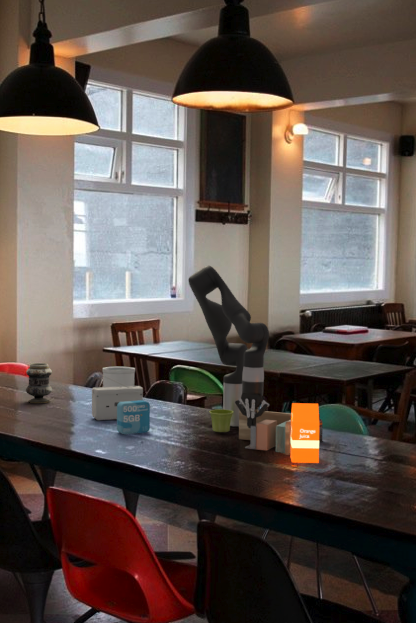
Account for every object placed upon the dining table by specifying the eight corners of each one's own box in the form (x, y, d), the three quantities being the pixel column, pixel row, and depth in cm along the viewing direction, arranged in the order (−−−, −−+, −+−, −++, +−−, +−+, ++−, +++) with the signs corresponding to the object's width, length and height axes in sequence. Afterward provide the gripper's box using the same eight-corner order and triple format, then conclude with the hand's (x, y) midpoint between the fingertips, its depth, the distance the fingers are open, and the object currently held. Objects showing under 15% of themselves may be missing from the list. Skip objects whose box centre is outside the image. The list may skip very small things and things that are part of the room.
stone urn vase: (49, 404, 389) (49, 365, 388) (23, 403, 389) (23, 365, 388) (54, 399, 401) (54, 362, 400) (29, 399, 401) (28, 362, 400)
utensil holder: (117, 402, 396) (117, 365, 395) (141, 405, 387) (141, 367, 386) (95, 406, 384) (95, 368, 383) (120, 410, 375) (120, 371, 374)
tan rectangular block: (256, 449, 292) (256, 423, 292) (266, 444, 300) (266, 419, 300) (266, 450, 291) (267, 424, 290) (276, 445, 299) (276, 420, 298)
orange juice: (290, 460, 281) (290, 401, 280) (316, 461, 281) (317, 401, 280) (291, 466, 273) (292, 405, 272) (319, 466, 273) (319, 405, 272)
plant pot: (238, 433, 325) (238, 411, 325) (222, 437, 318) (222, 414, 318) (220, 430, 331) (220, 408, 331) (204, 433, 325) (204, 411, 324)
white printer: (139, 415, 362) (139, 369, 361) (144, 419, 354) (144, 371, 353) (91, 418, 356) (91, 371, 354) (95, 421, 348) (95, 373, 347)
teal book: (286, 446, 298) (286, 421, 297) (295, 447, 296) (295, 422, 295) (275, 451, 289) (275, 425, 288) (285, 453, 287) (285, 426, 287)
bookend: (256, 442, 303) (256, 420, 302) (266, 443, 301) (266, 421, 300) (245, 448, 294) (245, 425, 293) (255, 449, 292) (255, 426, 291)
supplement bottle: (323, 443, 309) (324, 412, 308) (320, 446, 303) (321, 415, 303) (307, 442, 311) (308, 411, 310) (304, 445, 305) (304, 414, 305)
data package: (121, 434, 321) (121, 403, 320) (116, 432, 325) (116, 401, 324) (149, 432, 327) (150, 401, 326) (145, 430, 331) (145, 399, 330)
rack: (240, 441, 310) (240, 408, 310) (304, 448, 299) (304, 414, 299) (221, 450, 296) (221, 415, 295) (288, 457, 285) (288, 422, 284)
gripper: (231, 379, 296) (230, 427, 297) (266, 382, 290) (264, 432, 291) (240, 376, 303) (238, 424, 304) (274, 379, 297) (272, 428, 298)
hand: (251, 428), depth 297 cm, fingers closed
